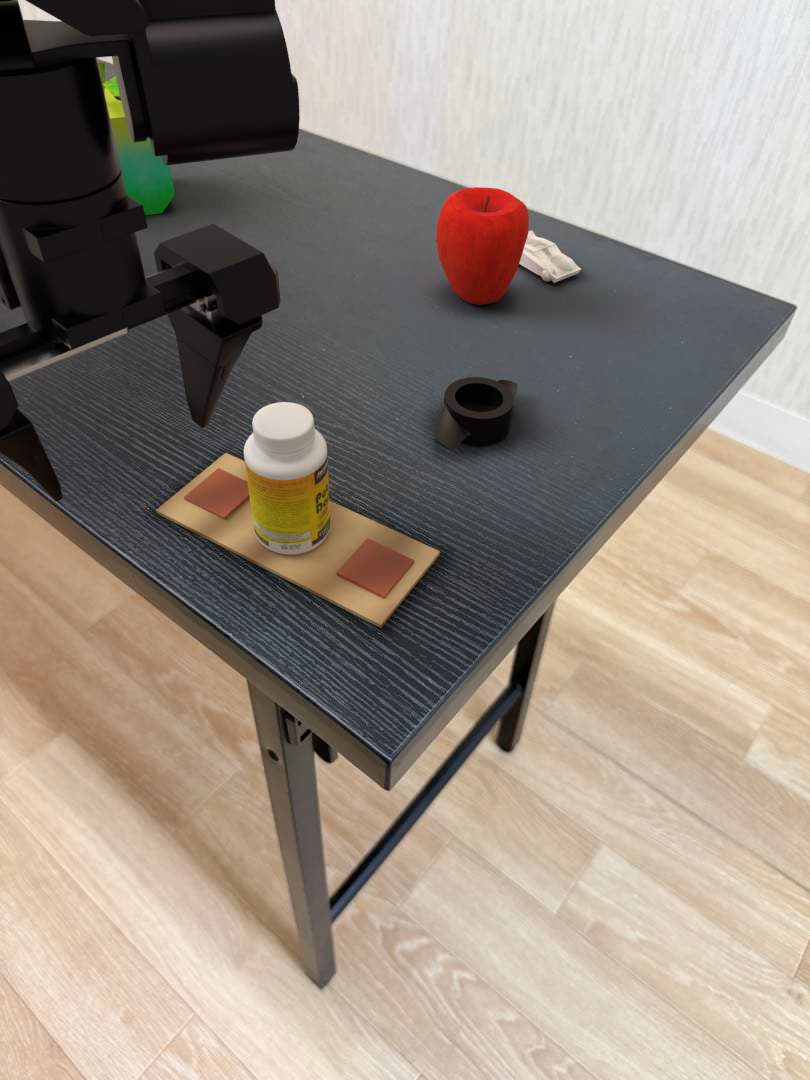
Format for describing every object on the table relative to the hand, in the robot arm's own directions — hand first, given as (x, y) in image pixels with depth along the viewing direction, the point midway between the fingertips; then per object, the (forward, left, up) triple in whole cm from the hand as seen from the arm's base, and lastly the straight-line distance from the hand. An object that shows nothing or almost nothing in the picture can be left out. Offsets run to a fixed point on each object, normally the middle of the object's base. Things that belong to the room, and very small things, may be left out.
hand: (131, 458), depth 45 cm
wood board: (+3, +10, -13) cm, 17 cm away
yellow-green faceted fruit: (-48, +44, -13) cm, 66 cm away
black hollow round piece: (+8, +29, -13) cm, 33 cm away
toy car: (+1, +58, -13) cm, 60 cm away
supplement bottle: (+3, +10, -13) cm, 16 cm away
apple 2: (-2, +48, -13) cm, 50 cm away
